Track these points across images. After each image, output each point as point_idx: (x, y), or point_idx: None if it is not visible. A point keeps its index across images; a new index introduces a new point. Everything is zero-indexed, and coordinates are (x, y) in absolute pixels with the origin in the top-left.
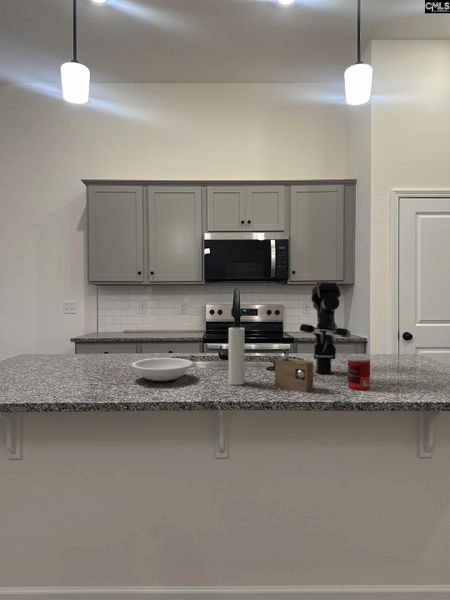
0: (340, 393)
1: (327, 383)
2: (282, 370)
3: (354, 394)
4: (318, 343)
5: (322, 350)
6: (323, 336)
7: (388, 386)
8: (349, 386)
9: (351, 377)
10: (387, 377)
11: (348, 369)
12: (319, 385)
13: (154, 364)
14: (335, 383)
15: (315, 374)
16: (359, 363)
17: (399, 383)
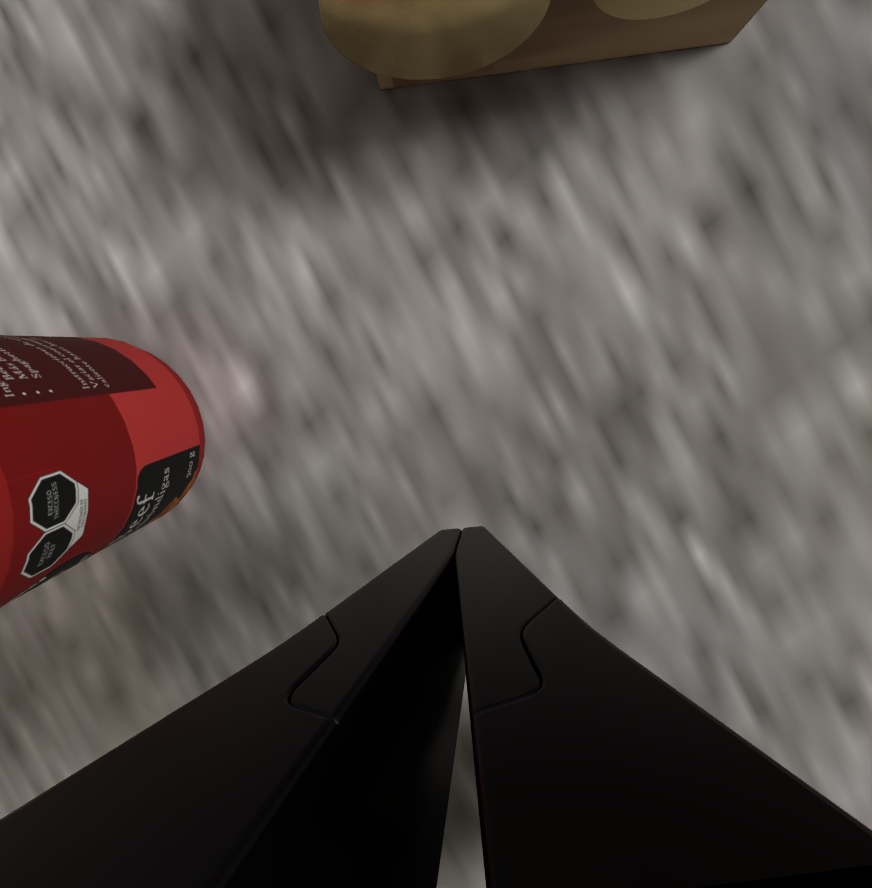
0: (126, 131)
1: (386, 395)
2: None
3: (34, 190)
4: (547, 597)
5: (430, 540)
6: (206, 864)
7: (5, 617)
8: (152, 356)
9: (55, 342)
10: None
11: (41, 380)
12: (404, 272)
13: None
14: (334, 443)
15: (340, 49)
16: None
17: (4, 747)
